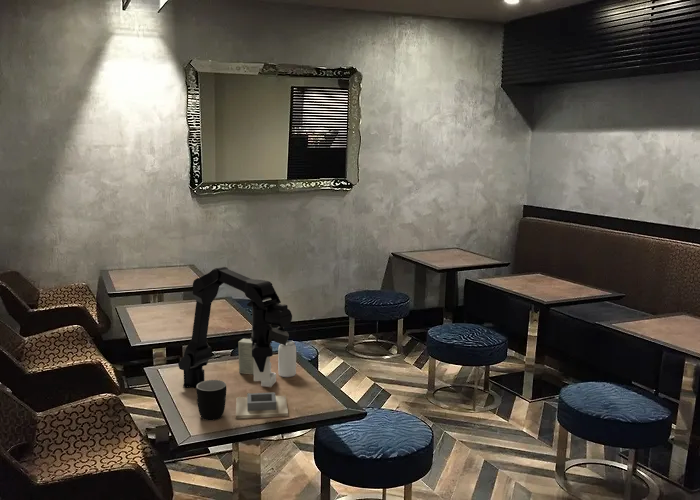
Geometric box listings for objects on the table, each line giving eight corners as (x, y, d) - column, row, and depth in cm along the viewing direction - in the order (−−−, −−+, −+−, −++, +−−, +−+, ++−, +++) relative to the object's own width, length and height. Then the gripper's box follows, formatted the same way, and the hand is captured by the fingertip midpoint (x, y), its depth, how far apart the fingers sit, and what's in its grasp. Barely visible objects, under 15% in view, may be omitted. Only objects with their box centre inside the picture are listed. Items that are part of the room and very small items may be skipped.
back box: (247, 410, 193) (247, 403, 193) (247, 400, 201) (247, 393, 200) (276, 409, 195) (276, 402, 194) (275, 399, 202) (275, 392, 202)
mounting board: (235, 418, 190) (235, 415, 190) (236, 400, 203) (236, 397, 203) (288, 416, 192) (288, 413, 192) (285, 398, 206) (285, 395, 206)
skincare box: (258, 371, 231) (258, 339, 229) (253, 375, 226) (253, 343, 224) (243, 369, 232) (243, 337, 230) (238, 373, 228) (237, 341, 226)
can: (299, 373, 229) (299, 342, 227) (288, 379, 223) (288, 347, 221) (285, 370, 232) (285, 339, 230) (274, 375, 227) (274, 343, 225)
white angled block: (256, 383, 212) (260, 358, 215) (265, 388, 221) (269, 364, 224) (266, 384, 211) (270, 359, 214) (274, 389, 220) (278, 364, 223)
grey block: (253, 381, 194) (253, 353, 193) (253, 376, 198) (253, 349, 196) (269, 380, 195) (269, 353, 193) (269, 376, 199) (269, 349, 197)
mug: (230, 419, 189) (229, 387, 187) (200, 424, 185) (200, 392, 183) (219, 404, 200) (219, 374, 198) (191, 409, 195) (190, 379, 194)
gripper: (289, 329, 186) (289, 379, 188) (285, 313, 204) (285, 358, 206) (251, 330, 184) (251, 380, 186) (251, 314, 202) (251, 360, 204)
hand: (261, 369), depth 196 cm, fingers closed on grey block, 4 cm apart
